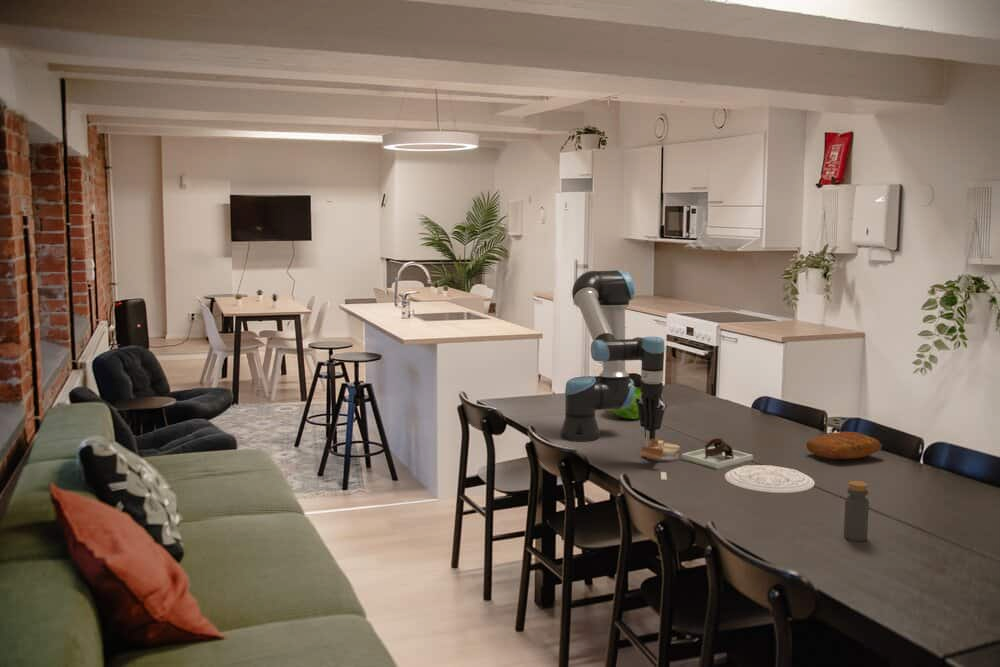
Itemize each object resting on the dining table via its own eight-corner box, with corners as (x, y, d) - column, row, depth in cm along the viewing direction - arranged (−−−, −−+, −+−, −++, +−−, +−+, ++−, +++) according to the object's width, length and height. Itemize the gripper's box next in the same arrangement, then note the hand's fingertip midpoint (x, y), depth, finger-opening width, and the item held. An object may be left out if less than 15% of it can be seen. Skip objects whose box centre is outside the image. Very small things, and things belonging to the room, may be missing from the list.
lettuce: (596, 418, 390) (627, 420, 395) (619, 417, 369) (651, 420, 374) (597, 385, 392) (628, 387, 397) (620, 382, 371) (653, 385, 375)
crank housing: (640, 456, 320) (640, 450, 319) (661, 451, 326) (661, 445, 326) (662, 463, 311) (662, 456, 310) (684, 458, 317) (684, 451, 317)
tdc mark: (660, 472, 299) (660, 472, 299) (666, 473, 299) (666, 472, 299) (661, 479, 291) (661, 479, 291) (666, 480, 291) (666, 479, 291)
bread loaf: (851, 449, 328) (852, 428, 327) (885, 461, 312) (886, 439, 311) (801, 454, 321) (802, 433, 320) (833, 467, 305) (834, 444, 304)
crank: (649, 444, 326) (650, 426, 325) (682, 448, 321) (683, 429, 320) (634, 459, 306) (634, 439, 305) (669, 463, 301) (669, 443, 300)
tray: (681, 459, 316) (681, 453, 315) (717, 451, 327) (717, 445, 326) (716, 469, 303) (717, 463, 302) (752, 460, 314) (752, 455, 313)
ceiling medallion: (814, 473, 300) (814, 464, 299) (814, 498, 273) (815, 488, 273) (728, 466, 309) (728, 457, 308) (721, 489, 282) (721, 479, 282)
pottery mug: (737, 463, 309) (728, 444, 307) (712, 473, 312) (702, 455, 310) (733, 446, 320) (723, 428, 318) (708, 456, 323) (699, 438, 321)
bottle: (839, 534, 241) (842, 480, 239) (860, 533, 242) (863, 479, 240) (849, 541, 235) (852, 486, 233) (871, 541, 236) (874, 486, 234)
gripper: (631, 379, 310) (628, 445, 313) (657, 386, 300) (655, 454, 303) (646, 377, 314) (644, 442, 318) (673, 383, 304) (670, 450, 308)
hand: (649, 448), depth 311 cm, fingers closed
